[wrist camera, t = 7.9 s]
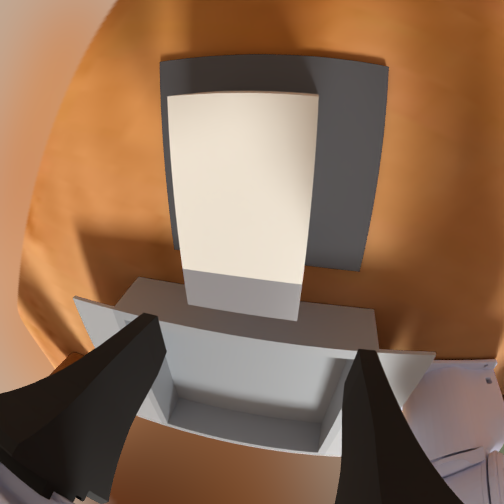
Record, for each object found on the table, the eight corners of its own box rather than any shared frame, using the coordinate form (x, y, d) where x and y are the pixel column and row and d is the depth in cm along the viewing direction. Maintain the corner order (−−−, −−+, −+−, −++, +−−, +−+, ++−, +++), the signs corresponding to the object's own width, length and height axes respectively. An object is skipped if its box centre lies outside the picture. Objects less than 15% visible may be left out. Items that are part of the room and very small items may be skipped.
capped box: (318, 94, 13) (318, 96, 8) (305, 250, 18) (296, 321, 13) (220, 91, 14) (167, 96, 9) (224, 241, 19) (187, 304, 14)
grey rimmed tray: (424, 313, 19) (436, 355, 15) (361, 426, 28) (360, 457, 25) (100, 269, 23) (72, 298, 20) (145, 388, 32) (131, 413, 29)
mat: (386, 67, 12) (388, 66, 12) (358, 268, 18) (359, 271, 18) (163, 62, 14) (159, 62, 14) (176, 246, 20) (174, 249, 20)
